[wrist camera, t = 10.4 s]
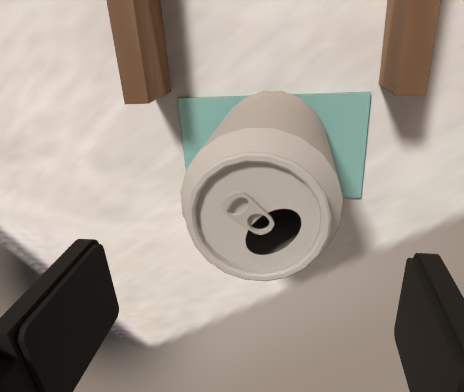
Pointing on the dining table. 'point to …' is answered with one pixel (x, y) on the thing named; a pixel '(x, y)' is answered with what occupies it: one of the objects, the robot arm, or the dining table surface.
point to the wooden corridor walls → (156, 66)
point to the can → (263, 189)
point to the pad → (327, 108)
